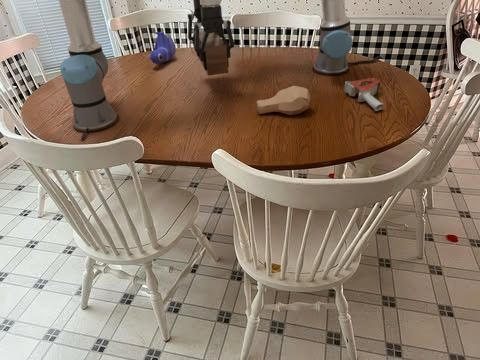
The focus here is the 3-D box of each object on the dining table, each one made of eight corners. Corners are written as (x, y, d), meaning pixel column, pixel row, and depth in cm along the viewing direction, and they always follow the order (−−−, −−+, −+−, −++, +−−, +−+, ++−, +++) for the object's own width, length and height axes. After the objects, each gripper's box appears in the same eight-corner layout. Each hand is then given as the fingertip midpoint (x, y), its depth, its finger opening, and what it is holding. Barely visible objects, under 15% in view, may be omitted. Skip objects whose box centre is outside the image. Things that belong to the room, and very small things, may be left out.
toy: (164, 64, 198) (143, 70, 176) (159, 31, 191) (137, 33, 169) (180, 63, 196) (162, 69, 173) (176, 30, 189) (156, 32, 167)
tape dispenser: (379, 117, 128) (393, 93, 140) (382, 104, 124) (396, 81, 137) (332, 106, 135) (349, 84, 148) (334, 93, 132) (351, 72, 144)
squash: (314, 116, 128) (313, 95, 122) (259, 125, 130) (256, 105, 124) (308, 99, 136) (307, 78, 129) (257, 108, 138) (253, 88, 131)
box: (228, 72, 141) (226, 44, 135) (208, 75, 140) (205, 47, 133) (216, 55, 160) (214, 30, 154) (198, 57, 159) (195, 32, 153)
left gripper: (236, 0, 133) (239, 61, 147) (180, 6, 130) (189, 68, 143) (241, 4, 127) (244, 67, 141) (183, 10, 124) (191, 74, 137)
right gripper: (225, -7, 148) (229, 49, 161) (175, -2, 144) (183, 55, 157) (229, -4, 142) (233, 53, 155) (177, 1, 138) (185, 60, 152)
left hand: (216, 67), depth 142 cm, fingers closed on box, 8 cm apart
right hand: (208, 54), depth 156 cm, fingers closed on box, 8 cm apart
